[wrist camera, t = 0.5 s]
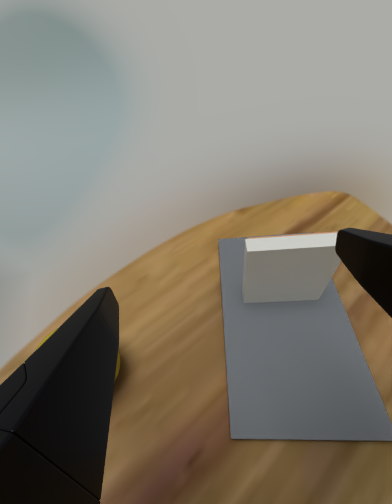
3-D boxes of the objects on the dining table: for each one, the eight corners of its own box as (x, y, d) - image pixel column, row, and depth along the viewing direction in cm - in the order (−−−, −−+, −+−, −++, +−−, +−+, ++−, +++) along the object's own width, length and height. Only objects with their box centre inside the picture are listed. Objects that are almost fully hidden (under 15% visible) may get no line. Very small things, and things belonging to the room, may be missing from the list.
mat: (392, 440, 16) (398, 440, 16) (231, 438, 18) (231, 438, 17) (311, 237, 28) (313, 232, 28) (218, 243, 30) (218, 239, 29)
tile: (318, 299, 23) (350, 244, 16) (243, 303, 23) (247, 251, 17) (313, 286, 24) (342, 229, 17) (241, 289, 24) (244, 236, 18)
